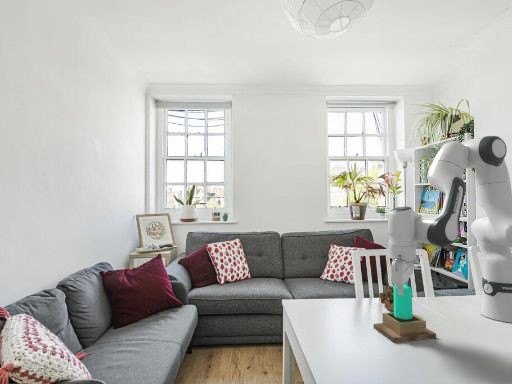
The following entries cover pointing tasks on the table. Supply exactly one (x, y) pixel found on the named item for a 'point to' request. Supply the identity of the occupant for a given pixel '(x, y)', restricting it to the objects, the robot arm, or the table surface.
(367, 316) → the table surface
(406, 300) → the candle
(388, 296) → the wooden carving
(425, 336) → the candle stand
